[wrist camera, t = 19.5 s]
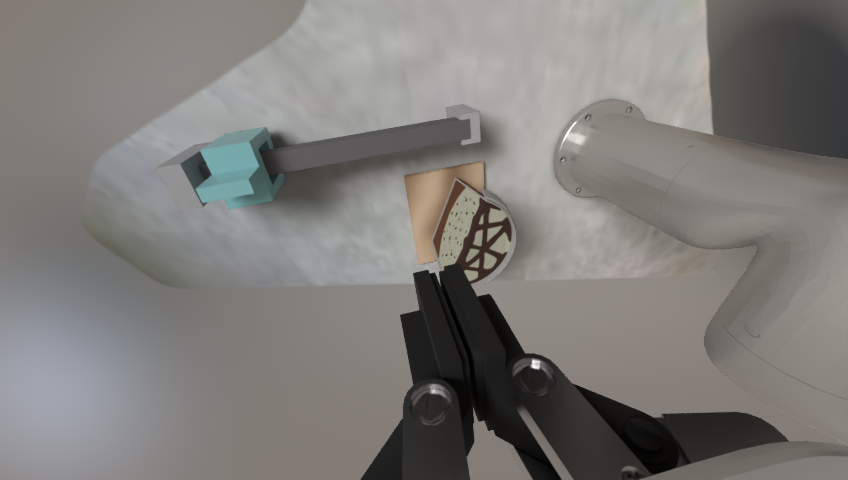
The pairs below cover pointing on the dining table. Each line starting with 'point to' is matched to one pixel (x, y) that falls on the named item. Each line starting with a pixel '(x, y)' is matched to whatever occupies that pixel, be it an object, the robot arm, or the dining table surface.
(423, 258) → the mat
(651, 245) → the dining table surface
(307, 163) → the rail
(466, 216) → the food container
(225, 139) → the sleeve
